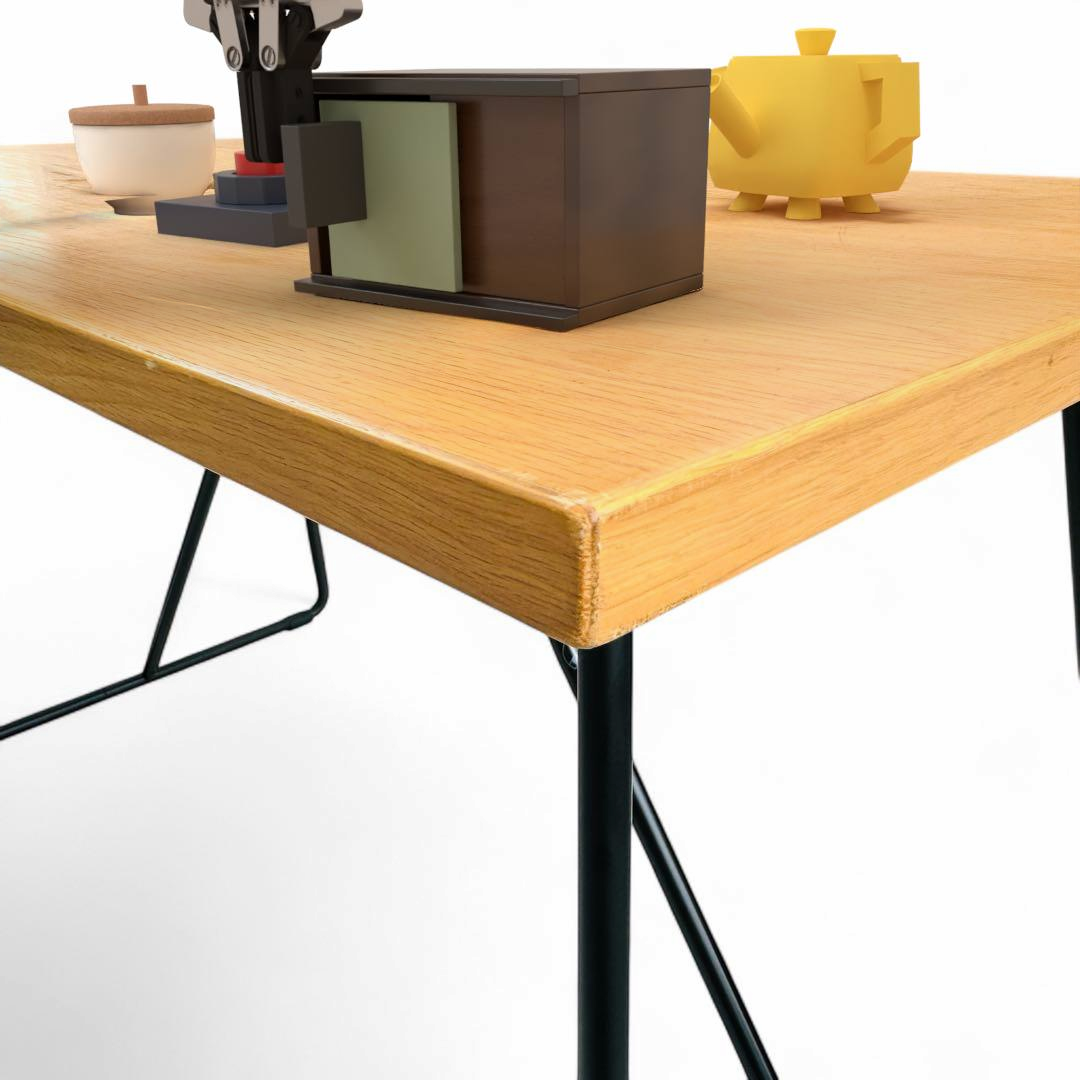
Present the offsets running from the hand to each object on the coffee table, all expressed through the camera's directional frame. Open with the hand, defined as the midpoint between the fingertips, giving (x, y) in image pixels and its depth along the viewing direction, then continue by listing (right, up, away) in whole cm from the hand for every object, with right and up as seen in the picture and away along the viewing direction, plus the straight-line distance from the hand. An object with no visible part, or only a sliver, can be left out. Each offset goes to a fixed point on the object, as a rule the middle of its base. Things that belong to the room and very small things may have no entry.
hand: (282, 160), depth 57 cm
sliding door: (+4, -6, 0) cm, 7 cm away
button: (-6, +7, +25) cm, 27 cm away
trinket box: (-18, +8, +38) cm, 43 cm away
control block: (-6, +3, +27) cm, 28 cm away
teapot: (+31, +7, +34) cm, 47 cm away
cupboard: (+10, -5, +6) cm, 13 cm away
